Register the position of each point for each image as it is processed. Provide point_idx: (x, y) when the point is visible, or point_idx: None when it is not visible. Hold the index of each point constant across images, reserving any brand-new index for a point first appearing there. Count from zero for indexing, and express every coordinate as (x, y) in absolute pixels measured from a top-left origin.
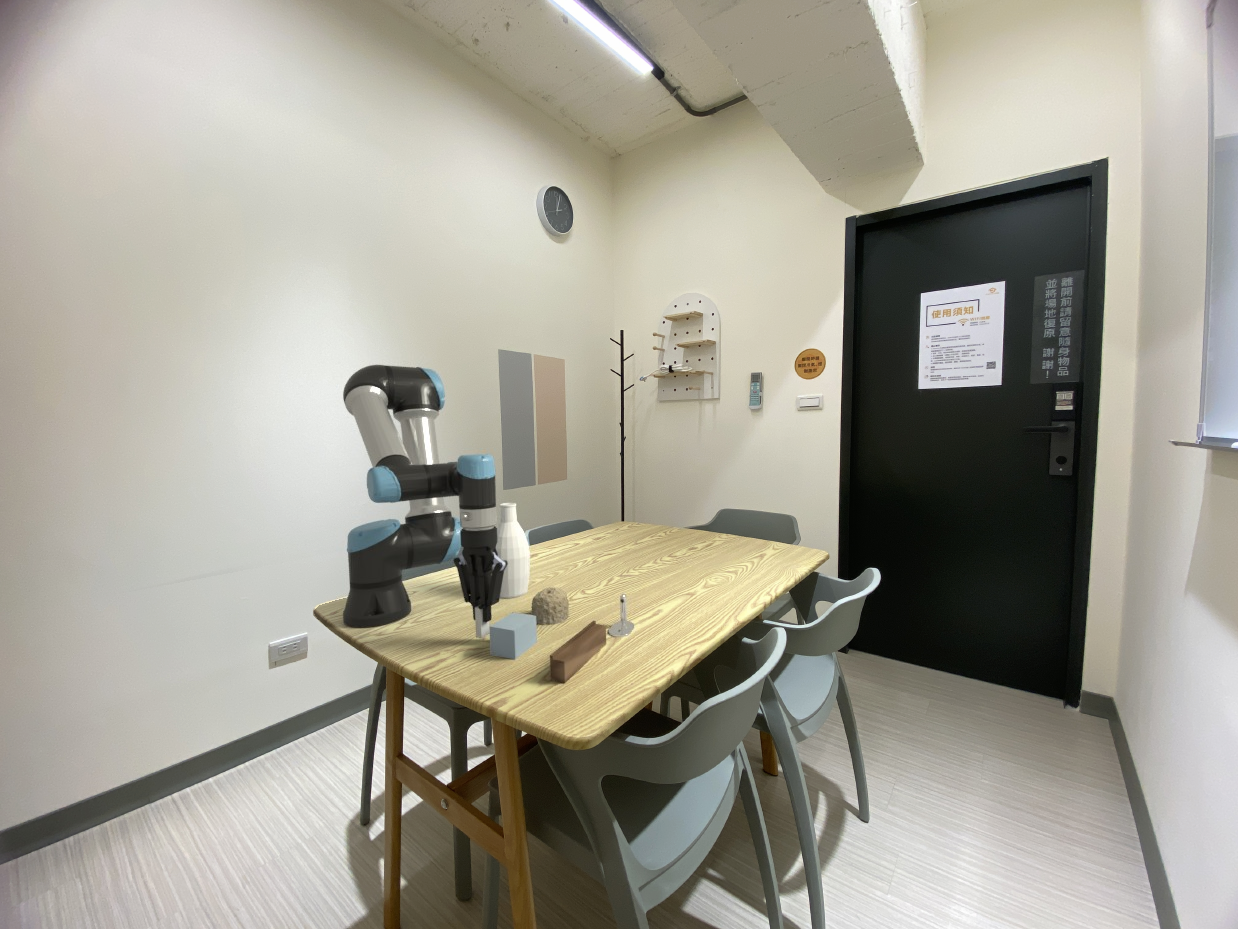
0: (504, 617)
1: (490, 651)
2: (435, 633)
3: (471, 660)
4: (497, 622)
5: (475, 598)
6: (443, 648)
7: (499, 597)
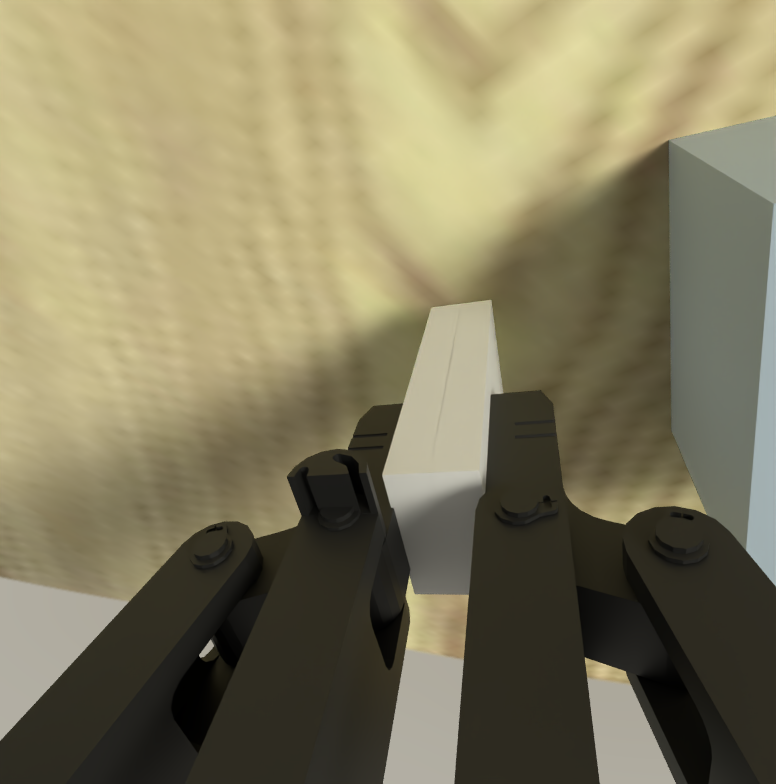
0: (764, 391)
1: (677, 443)
2: (90, 384)
3: (604, 518)
4: (767, 515)
5: (397, 690)
6: None
7: (773, 588)
